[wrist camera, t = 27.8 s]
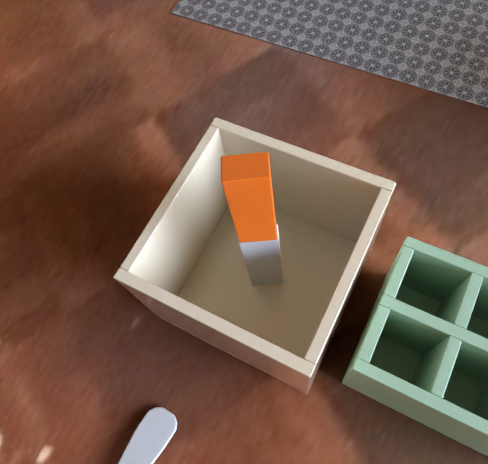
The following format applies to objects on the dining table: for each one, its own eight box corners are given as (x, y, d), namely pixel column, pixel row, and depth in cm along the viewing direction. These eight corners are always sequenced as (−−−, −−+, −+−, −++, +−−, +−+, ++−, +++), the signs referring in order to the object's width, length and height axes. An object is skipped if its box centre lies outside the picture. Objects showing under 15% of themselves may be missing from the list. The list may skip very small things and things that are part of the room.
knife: (283, 287, 35) (273, 177, 20) (251, 289, 35) (218, 182, 20) (282, 269, 35) (270, 150, 21) (251, 271, 35) (217, 155, 21)
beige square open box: (307, 394, 32) (310, 377, 23) (159, 317, 36) (112, 277, 27) (372, 245, 36) (397, 182, 27) (233, 189, 39) (214, 116, 31)
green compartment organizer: (538, 482, 29) (610, 495, 22) (341, 383, 32) (352, 369, 26) (571, 351, 31) (644, 327, 25) (386, 273, 35) (407, 235, 28)
